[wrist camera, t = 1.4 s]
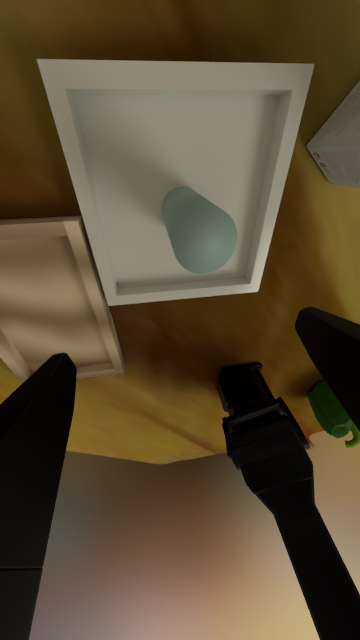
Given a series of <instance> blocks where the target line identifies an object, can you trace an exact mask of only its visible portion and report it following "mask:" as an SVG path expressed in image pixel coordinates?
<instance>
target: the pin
mask: <svg viewBox="0 0 360 640" xmlns="http://www.w3.org/2000/svg"><path fill="white" fill-rule="evenodd" d="M162 217H163V220H164V223H165V226H166V229H167V233H168V236H169V239H170V242H171V245H172V248H173V251H174V254H175V257H176V259H177V261H178V262H179V264H180V265H181V266H182V267H183V268H185V269H186V270H188V271H190V272H193V273H197V274H206V273H210V272H213V271H216V270H217V269H219V268H221V267H222V266H223V265H225V264H226V263H227V262H228V260H229V259H230V258H231V256H232V255H233V253H234V251H235V248H236V245H237V238H238V235H237V228H236V225H235V223H234V220H233V219H232V218H231V216H230V215H229V214H228V213H226V212H225V211H224V210H222V209H221V208H219V207H218V206H216V205H215V204H213V203H212V202H210V201H209V200H207V199H206V198H205V197H203V196H202V195H200V194H199V193H197V192H196V191H194V190H193V189H191V188H188V187H178V188H175V189H173V190H172V191H170V192H169V193H168V194H167V196H166V197H165V199H164V201H163V204H162Z"/></svg>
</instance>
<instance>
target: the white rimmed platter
mask: <svg viewBox="0 0 360 640" xmlns="http://www.w3.org/2000/svg"><path fill="white" fill-rule="evenodd" d="M37 62H38V66H39V69H40V72H41V76H42V79H43V83H44V86H45V90H46V93H47V97H48V100H49V104H50V107H51V110H52V114H53V117H54V121H55V124H56V128H57V131H58V135H59V138H60V141H61V145H62V148H63V152H64V155H65V159H66V162H67V166H68V169H69V172H70V176H71V179H72V183H73V186H74V190H75V193H76V197H77V200H78V203H79V207H80V210H81V214H82V217H83V221H84V224H85V228H86V231H87V234H88V238H89V241H90V245H91V248H92V252H93V255H94V259H95V262H96V265H97V269H98V272H99V276H100V279H101V283H102V286H103V290H104V293H105V296H106V300H107V303H108V306H113V305H123V304H134V303H144V302H154V301H165V300H175V299H186V298H196V297H207V296H217V295H228V294H238V293H249V292H258V290H259V286H260V282H261V278H262V274H263V270H264V266H265V261H266V257H267V253H268V249H269V245H270V241H271V237H272V233H273V229H274V225H275V221H276V217H277V213H278V209H279V205H280V201H281V197H282V193H283V189H284V185H285V181H286V177H287V173H288V169H289V165H290V161H291V157H292V153H293V149H294V145H295V141H296V137H297V133H298V129H299V125H300V121H301V117H302V113H303V109H304V105H305V101H306V97H307V93H308V89H309V85H310V81H311V77H312V73H313V69H314V65H315V64H298V63H240V62H182V61H124V60H66V59H37ZM178 187H188V188H191V189H193V190H194V191H196V192H197V193H199V194H200V195H202V196H203V197H205V198H206V199H207V200H209V201H210V202H212V203H213V204H215V205H216V206H218V207H219V208H221V209H222V210H224V211H225V212H226V213H228V214H229V215H230V216H231V218H232V219H233V220H234V223H235V225H236V228H237V235H238V238H237V245H236V248H235V251H234V253H233V255H232V256H231V258H230V259H229V260H228V262H227V263H226V264H225V265H223V266H222V267H221V268H219V269H217V270H216V271H213V272H210V273H206V274H197V273H193V272H190V271H188V270H186V269H185V268H183V267H182V266H181V265H180V264H179V262H178V261H177V259H176V257H175V254H174V251H173V248H172V245H171V242H170V239H169V236H168V233H167V229H166V226H165V223H164V220H163V217H162V204H163V201H164V199H165V197H166V196H167V194H168V193H169V192H170V191H172V190H173V189H175V188H178Z"/></svg>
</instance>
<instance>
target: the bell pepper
mask: <svg viewBox="0 0 360 640" xmlns="http://www.w3.org/2000/svg"><path fill="white" fill-rule="evenodd" d="M308 398H309V401H310V404H311V407H312V409H313V412H314V414H315V416H316V419H317V420H318V422H319V423H320V425H321V426H322V428H323V429H324V430H325V431H326V432H327V433H329V434H330V435H333V436H334V437H336V438H340V437H344V436H345V435H347V434H348V433H349V431H352V433H353V436H354V437H353V439H352V440H350V441H345V444H346V447H347V448H349V447H354V446H356V445H358V444H359V443H360V433H359V430H358V429H357V427H356V426H355V424H354V423H353V421H352V420H351V419H350V417H349V416H348V414H347V413H346V411H345V410H344V408H343V407H342V405H341V404H340V402H339V401H338V399H337V398H336V396H335V395H334V393H333V392H332V390H331V389H330V387H329V386H328V384H327V383H326V381H325V380H324V381H322V382H319V383H317V384H316V385H315V387H314V388H313V390H312V391H310V392H309V393H308Z"/></svg>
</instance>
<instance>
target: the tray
mask: <svg viewBox="0 0 360 640" xmlns="http://www.w3.org/2000/svg"><path fill="white" fill-rule="evenodd" d="M62 352H65V353H67V354H68V355H69V357H70V358H71V360H72V361H73V362H74V364H75V365H76V368H77V377H76V379H80V378H88V377H96V376H104V375H112V374H120V373H124V368H125V360H124V357H123V353H122V350H121V346H120V343H119V340H118V336H117V333H116V329H115V326H114V322H113V319H112V315H111V312H110V308H109V306H108V303H107V300H106V296H105V293H104V290H103V286H102V283H101V279H100V276H99V272H98V269H97V265H96V262H95V259H94V255H93V252H92V248H91V245H90V241H89V238H88V234H87V231H86V228H85V224H84V221H83V217H82V215H79V216H60V217H41V218H23V219H4V220H0V358H1V359H2V360H3V361H4V362H5V363H6V365H7V366H8V367H9V368H10V369H11V371H12V372H13V373H14V374H15V375H16V376H17V378H18V379H19V380H20V381H21V382H22V383H23V382H25V381H26V380H27V379H28V378H29V377H30V376H31V375H32V374H33V373H34V372H35V371H36V370H37V369H38V368H39V367H40V366H41V365H42V364H43V363H45V362H46V361H47V360H48V359H49V358H50V357H51V356H52V355H53V354H57V353H62Z"/></svg>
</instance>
